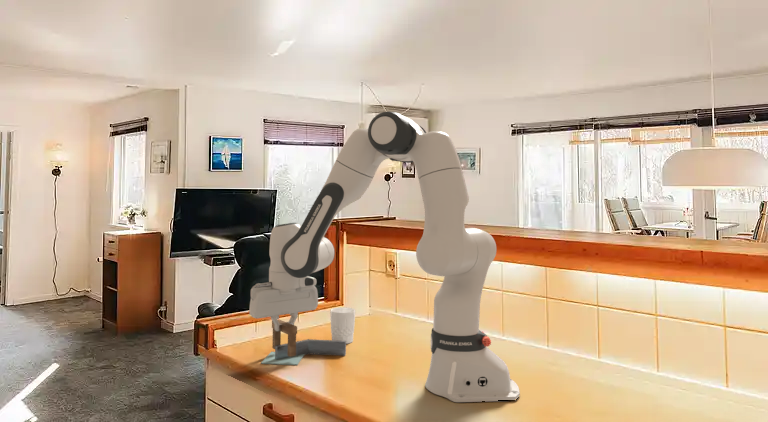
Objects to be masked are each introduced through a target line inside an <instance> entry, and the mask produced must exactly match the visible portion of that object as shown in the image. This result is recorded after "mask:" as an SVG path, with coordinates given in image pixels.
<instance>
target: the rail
mask: <svg viewBox="0 0 768 422" xmlns="http://www.w3.org/2000/svg"><path fill="white" fill-rule="evenodd" d="M274 352H275V359H276V360H279V359H284V358H288V357H290V356H288V342H287V343H281V345H276V346H275V349H274ZM346 352H347V344H346V341H338V340H332V339H331V340H330V339H309V338H308V339H303V340H302V339H301V340H298V341H297V340H296V356H298V355H302V354H305V355H304V356H306V355H317V356H321V355H322V356H342V357H343V356H344V357H346V356H347V355H346V354H347V353H346ZM291 357H293V356H291Z"/></svg>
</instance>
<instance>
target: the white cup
mask: <svg viewBox="0 0 768 422" xmlns="http://www.w3.org/2000/svg"><path fill="white" fill-rule="evenodd" d="M355 319H356V309H355V308H352V307H345V306H344V307H341V306H339V307H334V308H331V309H330V333H331V340H338V341H346V345H347V344H352V343H353V342H354V333H355V322H356V321H355Z"/></svg>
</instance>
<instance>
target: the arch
mask: <svg viewBox="0 0 768 422" xmlns="http://www.w3.org/2000/svg"><path fill="white" fill-rule="evenodd" d="M277 320H278V322H279V323H280V324H282V330H281V331H275V329H274V323H273V321H272V320H271V328H272V349H273V350H275V346H276V345H281V344H282V343H281V342H282V341H281V340H282V339H281V337H282V335H281V333H284V334H286V335H287V343H288V356H290V357H291V356H296V342H297V334H298V326H297V325H295V324H294V325H292V324H290V323H287V322H288V321H285V320H282V319H277Z"/></svg>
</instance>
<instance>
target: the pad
mask: <svg viewBox="0 0 768 422" xmlns="http://www.w3.org/2000/svg"><path fill="white" fill-rule="evenodd" d="M304 356H306V355H305V354H302V355H298V356H293V357H288V358H284V359H279V360H276V359H275V351H271V352H269V354H268V355H267V356H266V357H265V358H264V359H263V360H262V361H261V362H260V365H262V364H263V365H277V366H278V365H282V366H284V365H285V366H298V365H299V363H301V361H302V360H303V358H304Z"/></svg>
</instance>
